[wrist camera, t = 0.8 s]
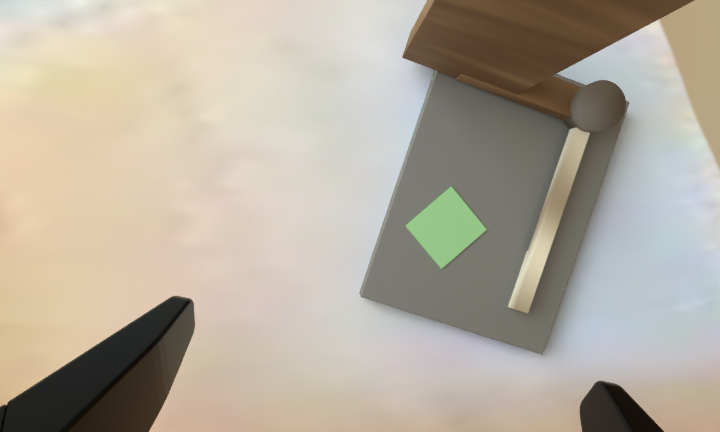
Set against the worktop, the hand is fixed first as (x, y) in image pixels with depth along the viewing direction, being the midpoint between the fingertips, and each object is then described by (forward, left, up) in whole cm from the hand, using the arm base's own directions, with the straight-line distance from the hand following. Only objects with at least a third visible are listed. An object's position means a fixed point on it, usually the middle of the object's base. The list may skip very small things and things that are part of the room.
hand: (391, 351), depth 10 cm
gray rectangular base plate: (+2, -8, -14) cm, 17 cm away
